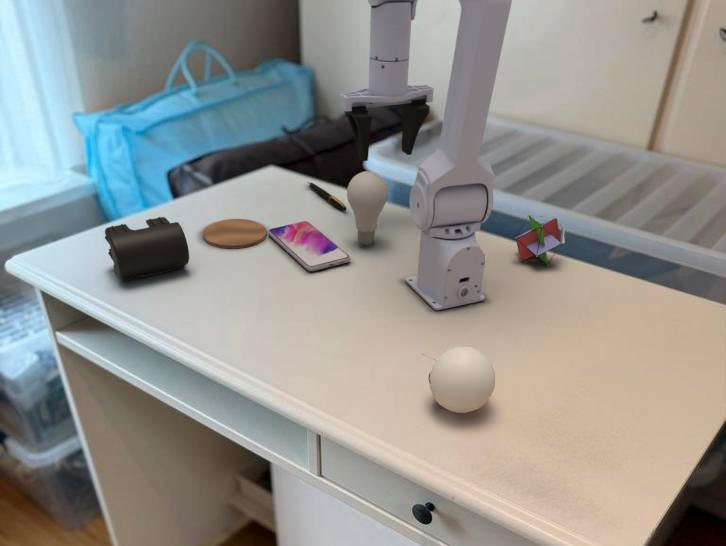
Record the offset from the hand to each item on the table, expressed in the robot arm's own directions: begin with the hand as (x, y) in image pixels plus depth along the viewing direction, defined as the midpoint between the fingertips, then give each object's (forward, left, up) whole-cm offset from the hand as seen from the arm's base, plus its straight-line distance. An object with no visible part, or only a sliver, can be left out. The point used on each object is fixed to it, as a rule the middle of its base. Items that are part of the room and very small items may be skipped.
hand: (384, 155), depth 112 cm
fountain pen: (+12, +5, -11) cm, 17 cm away
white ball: (-48, +14, -11) cm, 52 cm away
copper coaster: (+4, +24, -10) cm, 27 cm away
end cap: (-4, +39, -11) cm, 41 cm away
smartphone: (-5, +15, -10) cm, 19 cm away
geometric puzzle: (-22, -16, -11) cm, 29 cm away
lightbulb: (-7, +6, -11) cm, 14 cm away
